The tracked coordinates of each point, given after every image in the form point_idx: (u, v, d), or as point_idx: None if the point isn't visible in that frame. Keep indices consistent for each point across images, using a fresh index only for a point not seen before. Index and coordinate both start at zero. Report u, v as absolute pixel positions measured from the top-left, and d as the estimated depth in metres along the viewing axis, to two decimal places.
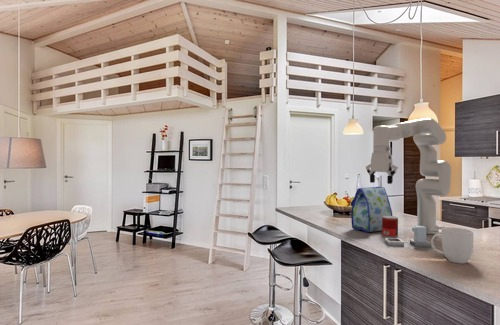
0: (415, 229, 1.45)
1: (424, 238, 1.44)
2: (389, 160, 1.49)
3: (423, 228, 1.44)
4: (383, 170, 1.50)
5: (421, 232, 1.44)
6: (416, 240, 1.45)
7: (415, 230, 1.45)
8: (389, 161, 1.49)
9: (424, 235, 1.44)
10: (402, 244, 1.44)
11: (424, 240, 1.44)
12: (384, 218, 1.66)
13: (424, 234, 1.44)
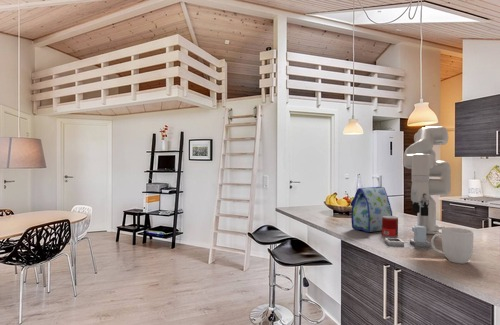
0: (415, 229, 1.45)
1: (424, 238, 1.44)
2: None
3: (423, 228, 1.44)
4: None
5: (421, 232, 1.44)
6: (416, 240, 1.45)
7: (415, 230, 1.45)
8: None
9: (424, 235, 1.44)
10: (402, 244, 1.44)
11: (424, 240, 1.44)
12: (384, 218, 1.66)
13: (424, 234, 1.44)
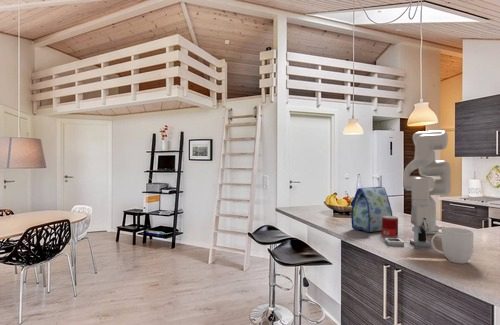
0: (415, 229, 1.45)
1: None
2: None
3: None
4: None
5: None
6: (416, 240, 1.45)
7: (415, 230, 1.45)
8: None
9: None
10: (402, 244, 1.44)
11: None
12: (384, 218, 1.66)
13: None
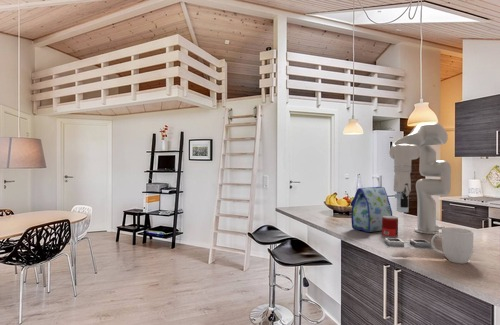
0: (397, 195, 1.46)
1: None
2: None
3: None
4: None
5: None
6: (398, 206, 1.46)
7: (397, 196, 1.46)
8: None
9: None
10: (402, 244, 1.44)
11: None
12: (384, 218, 1.66)
13: None
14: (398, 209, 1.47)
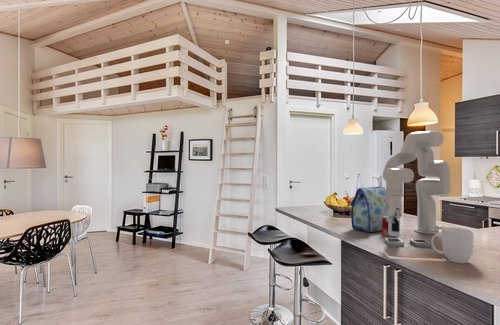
0: (389, 219, 1.47)
1: None
2: None
3: None
4: None
5: None
6: (390, 230, 1.47)
7: (389, 220, 1.47)
8: None
9: None
10: (402, 244, 1.44)
11: None
12: (384, 218, 1.66)
13: None
14: (389, 233, 1.47)
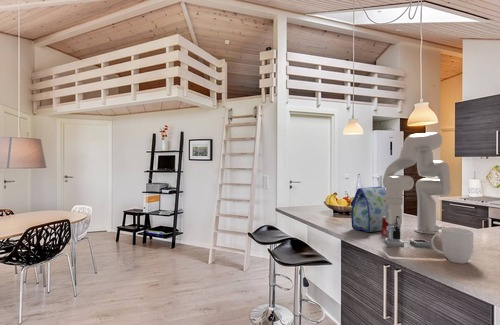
0: (389, 228, 1.47)
1: None
2: None
3: None
4: None
5: None
6: (390, 239, 1.47)
7: (389, 229, 1.47)
8: None
9: None
10: (402, 244, 1.44)
11: (397, 239, 1.45)
12: (384, 218, 1.66)
13: None
14: None
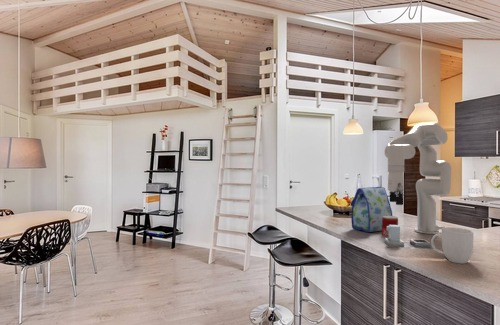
0: (389, 228, 1.47)
1: (398, 237, 1.45)
2: None
3: (397, 227, 1.46)
4: None
5: (395, 231, 1.46)
6: (390, 239, 1.47)
7: (389, 229, 1.47)
8: None
9: (398, 234, 1.45)
10: (402, 244, 1.44)
11: (397, 239, 1.45)
12: (384, 218, 1.66)
13: (398, 233, 1.45)
14: None
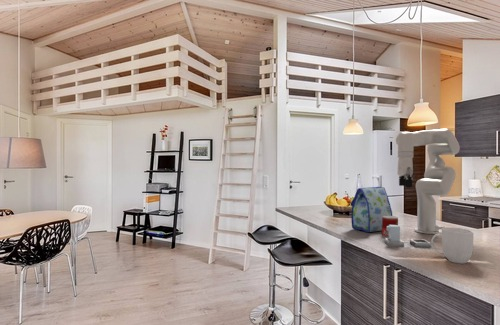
0: (389, 228, 1.47)
1: (398, 237, 1.45)
2: None
3: (397, 227, 1.46)
4: None
5: (395, 231, 1.46)
6: (390, 239, 1.47)
7: (389, 229, 1.47)
8: None
9: (398, 234, 1.45)
10: (402, 244, 1.44)
11: (397, 239, 1.45)
12: (384, 218, 1.66)
13: (398, 233, 1.45)
14: None
